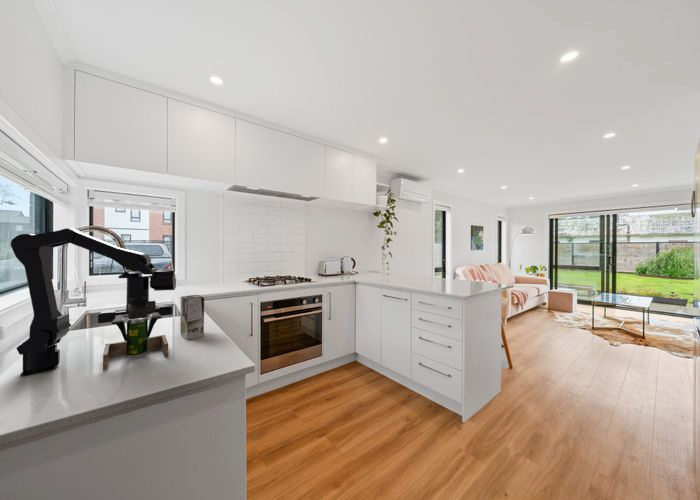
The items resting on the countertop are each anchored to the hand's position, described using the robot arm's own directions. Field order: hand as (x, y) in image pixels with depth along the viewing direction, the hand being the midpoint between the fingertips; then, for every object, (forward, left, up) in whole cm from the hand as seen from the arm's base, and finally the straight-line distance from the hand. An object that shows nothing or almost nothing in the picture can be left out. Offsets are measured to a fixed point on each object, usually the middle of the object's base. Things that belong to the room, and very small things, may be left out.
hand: (137, 339), depth 88 cm
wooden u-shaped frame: (0, +1, -6) cm, 6 cm away
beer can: (0, 0, -5) cm, 5 cm away
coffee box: (+18, +14, -6) cm, 24 cm away
